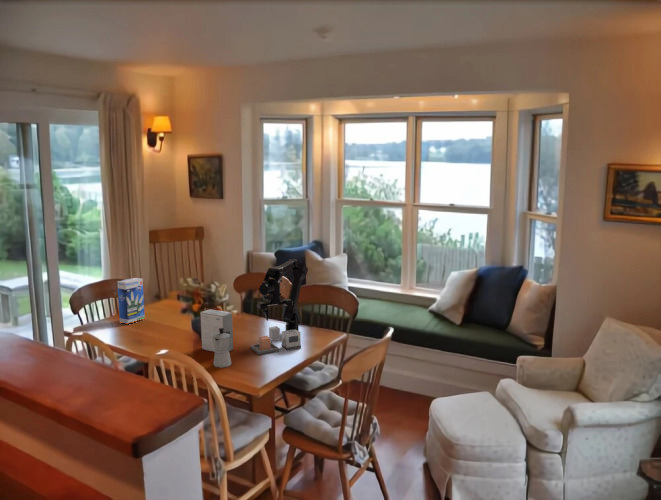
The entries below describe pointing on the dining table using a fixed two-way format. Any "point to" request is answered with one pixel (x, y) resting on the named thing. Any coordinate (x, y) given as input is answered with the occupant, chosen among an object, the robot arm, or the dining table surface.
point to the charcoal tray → (260, 352)
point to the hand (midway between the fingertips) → (275, 319)
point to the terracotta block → (264, 343)
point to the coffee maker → (222, 349)
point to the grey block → (274, 333)
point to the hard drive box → (215, 327)
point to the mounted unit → (291, 340)
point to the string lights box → (131, 300)
